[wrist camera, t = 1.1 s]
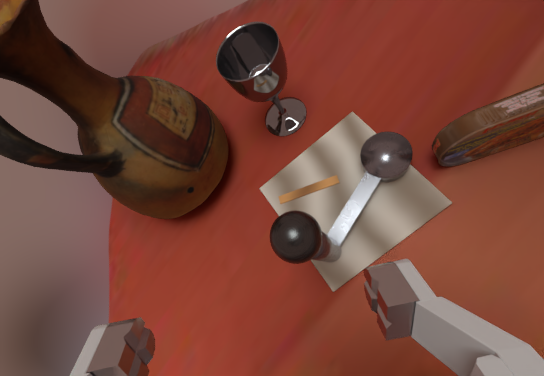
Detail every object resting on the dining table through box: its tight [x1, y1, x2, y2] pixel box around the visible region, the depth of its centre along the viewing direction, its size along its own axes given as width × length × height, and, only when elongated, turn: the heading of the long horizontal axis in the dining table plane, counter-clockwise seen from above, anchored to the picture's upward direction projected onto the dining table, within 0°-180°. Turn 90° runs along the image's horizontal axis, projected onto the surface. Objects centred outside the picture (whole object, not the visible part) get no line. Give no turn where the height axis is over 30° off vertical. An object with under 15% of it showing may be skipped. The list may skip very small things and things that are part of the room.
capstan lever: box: [270, 132, 412, 264], centre depth 28 cm, size 19×6×18 cm, turn 145°
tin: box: [432, 84, 544, 166], centre depth 30 cm, size 15×3×8 cm, turn 104°
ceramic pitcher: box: [0, 0, 228, 219], centre depth 36 cm, size 20×20×30 cm
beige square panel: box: [259, 112, 452, 292], centre depth 38 cm, size 18×18×1 cm
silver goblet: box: [216, 22, 306, 136], centre depth 38 cm, size 8×8×15 cm
